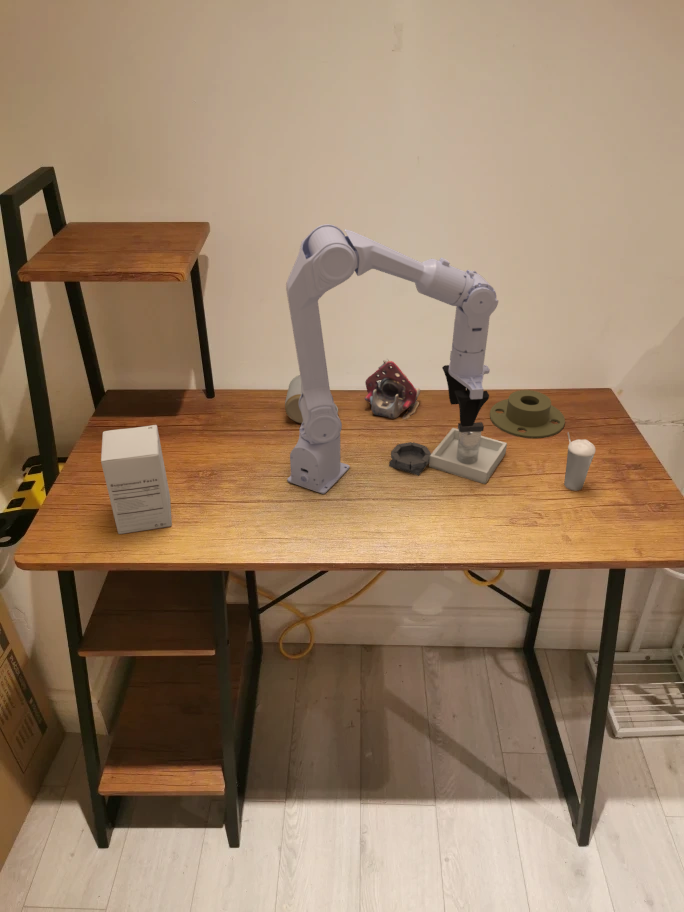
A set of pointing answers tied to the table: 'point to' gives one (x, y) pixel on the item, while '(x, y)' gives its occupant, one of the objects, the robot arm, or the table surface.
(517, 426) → the flange
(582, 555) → the table surface
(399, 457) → the stud mount
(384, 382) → the brake caliper
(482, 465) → the bin
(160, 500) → the supplement box
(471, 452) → the silver cylinder with bar
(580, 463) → the milkshake
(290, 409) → the ceramic mug
